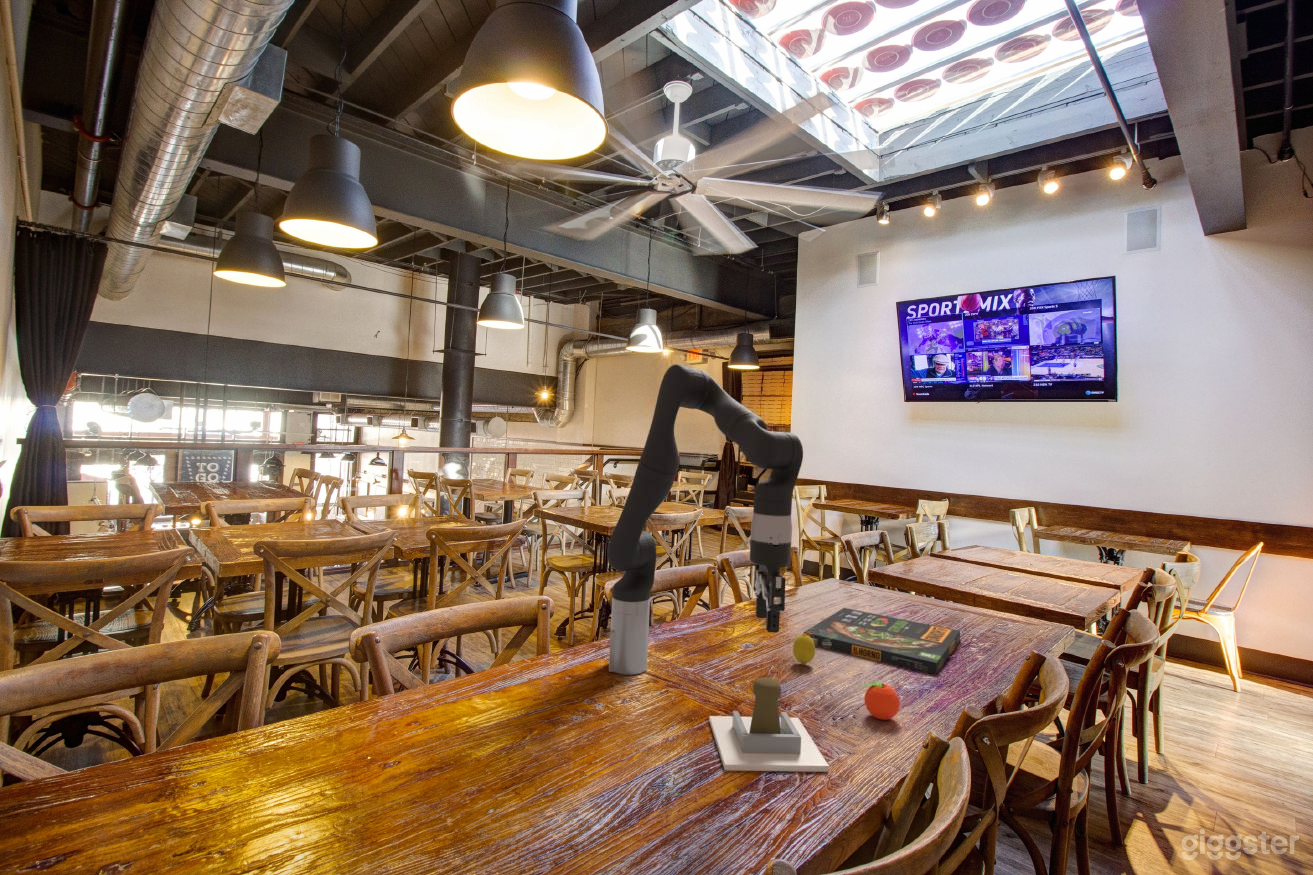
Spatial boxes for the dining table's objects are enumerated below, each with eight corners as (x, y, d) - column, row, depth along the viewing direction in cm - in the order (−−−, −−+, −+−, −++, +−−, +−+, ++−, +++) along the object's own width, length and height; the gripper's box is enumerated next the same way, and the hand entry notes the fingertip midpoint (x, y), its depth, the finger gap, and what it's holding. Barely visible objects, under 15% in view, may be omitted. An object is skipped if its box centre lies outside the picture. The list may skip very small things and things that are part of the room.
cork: (784, 736, 113) (786, 677, 113) (777, 750, 107) (780, 689, 107) (752, 728, 115) (755, 671, 115) (744, 742, 110) (747, 682, 110)
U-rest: (724, 770, 102) (725, 746, 102) (709, 720, 120) (710, 700, 120) (828, 771, 103) (829, 748, 103) (797, 722, 121) (798, 702, 121)
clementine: (857, 720, 123) (858, 685, 123) (859, 706, 130) (860, 674, 130) (899, 728, 120) (900, 693, 120) (898, 714, 127) (900, 681, 127)
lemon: (810, 670, 150) (812, 638, 150) (789, 665, 152) (790, 633, 153) (817, 664, 154) (818, 633, 154) (796, 659, 157) (797, 628, 157)
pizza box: (843, 618, 200) (843, 607, 200) (959, 642, 179) (960, 630, 179) (803, 644, 171) (803, 631, 171) (935, 676, 151) (936, 662, 151)
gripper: (743, 531, 119) (739, 612, 119) (759, 543, 105) (755, 636, 105) (780, 532, 119) (776, 614, 119) (802, 545, 105) (797, 637, 105)
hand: (766, 624), depth 112 cm, fingers open, 8 cm apart
